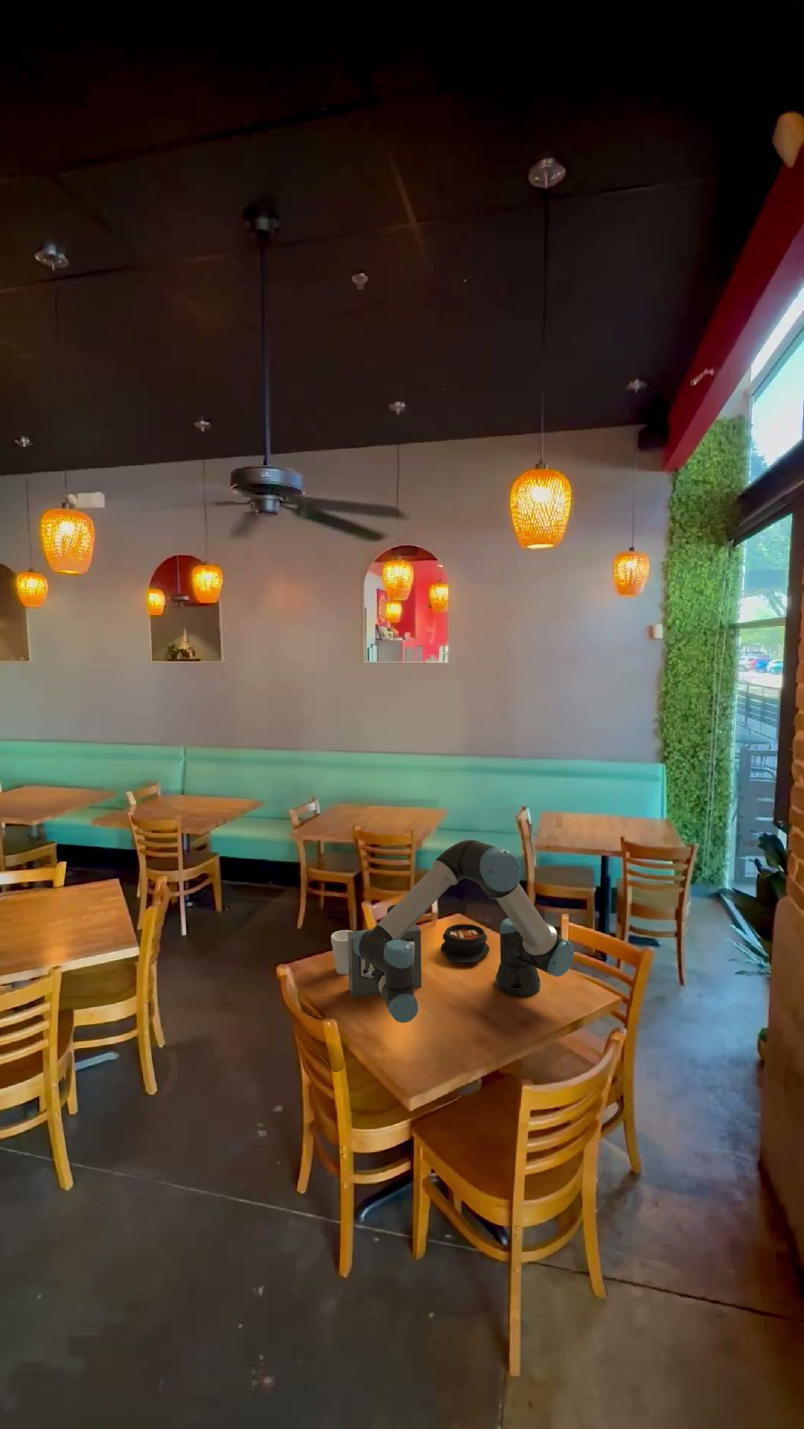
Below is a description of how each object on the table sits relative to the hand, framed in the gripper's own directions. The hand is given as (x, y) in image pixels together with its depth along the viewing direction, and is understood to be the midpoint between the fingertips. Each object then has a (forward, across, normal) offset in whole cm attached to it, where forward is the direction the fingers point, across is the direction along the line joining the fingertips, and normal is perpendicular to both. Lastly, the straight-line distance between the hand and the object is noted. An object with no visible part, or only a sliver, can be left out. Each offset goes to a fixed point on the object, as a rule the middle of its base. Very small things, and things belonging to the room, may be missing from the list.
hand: (371, 947), depth 203 cm
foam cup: (+28, -4, -21) cm, 35 cm away
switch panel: (+16, +7, -20) cm, 27 cm away
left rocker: (+9, +1, -13) cm, 16 cm away
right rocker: (+9, +14, -13) cm, 21 cm away
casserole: (+28, +43, -22) cm, 56 cm away
